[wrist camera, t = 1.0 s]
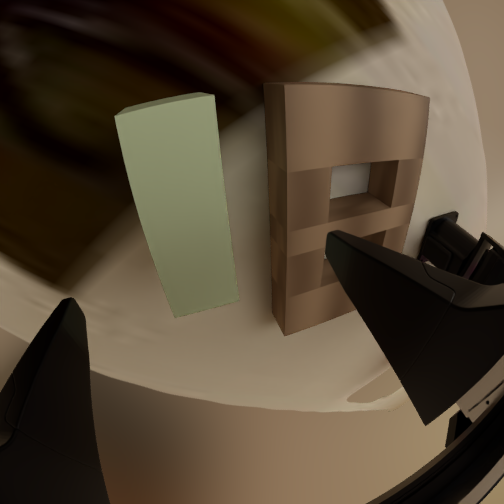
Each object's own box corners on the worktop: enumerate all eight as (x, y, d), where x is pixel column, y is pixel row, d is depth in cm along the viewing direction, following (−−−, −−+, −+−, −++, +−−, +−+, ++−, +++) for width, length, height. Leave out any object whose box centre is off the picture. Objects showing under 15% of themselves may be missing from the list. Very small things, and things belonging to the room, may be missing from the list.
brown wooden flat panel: (401, 90, 17) (429, 97, 15) (371, 278, 29) (387, 296, 27) (263, 83, 14) (284, 84, 12) (272, 313, 26) (284, 336, 24)
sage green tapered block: (191, 90, 13) (214, 95, 8) (213, 236, 19) (239, 300, 14) (131, 103, 13) (114, 116, 8) (164, 248, 19) (174, 318, 14)
